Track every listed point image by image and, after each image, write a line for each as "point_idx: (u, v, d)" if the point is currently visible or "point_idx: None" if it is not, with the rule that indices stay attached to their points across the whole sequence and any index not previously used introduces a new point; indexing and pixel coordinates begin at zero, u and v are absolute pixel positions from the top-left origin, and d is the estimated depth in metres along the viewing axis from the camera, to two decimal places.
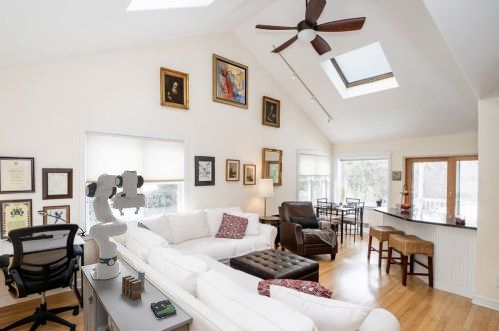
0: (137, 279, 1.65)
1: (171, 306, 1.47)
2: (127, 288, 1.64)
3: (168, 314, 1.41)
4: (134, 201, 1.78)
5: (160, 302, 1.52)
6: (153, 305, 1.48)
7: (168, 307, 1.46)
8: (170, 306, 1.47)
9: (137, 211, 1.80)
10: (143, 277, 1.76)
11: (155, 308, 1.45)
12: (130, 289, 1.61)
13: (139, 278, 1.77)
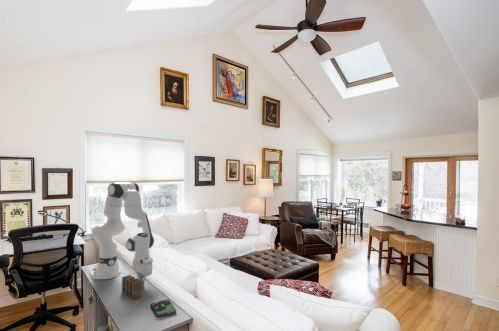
0: (137, 279, 1.65)
1: (171, 306, 1.47)
2: (127, 288, 1.64)
3: (168, 314, 1.41)
4: None
5: (160, 302, 1.52)
6: (153, 305, 1.48)
7: (168, 307, 1.46)
8: (170, 306, 1.47)
9: None
10: None
11: (155, 308, 1.45)
12: (130, 289, 1.61)
13: (139, 278, 1.77)
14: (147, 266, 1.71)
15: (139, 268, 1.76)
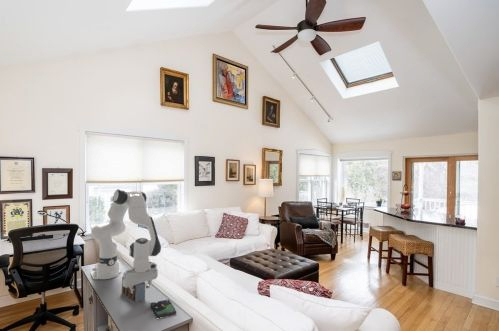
0: None
1: (171, 306, 1.47)
2: (127, 288, 1.64)
3: (168, 314, 1.41)
4: None
5: (160, 302, 1.52)
6: (153, 305, 1.48)
7: (168, 307, 1.46)
8: (170, 306, 1.47)
9: (131, 289, 1.55)
10: None
11: (155, 308, 1.45)
12: None
13: (140, 291, 1.57)
14: None
15: (143, 278, 1.57)
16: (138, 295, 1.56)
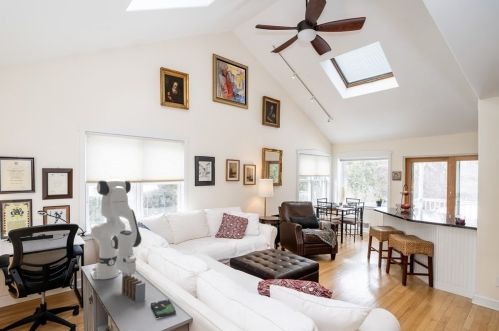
0: (137, 279, 1.65)
1: (171, 306, 1.47)
2: (127, 288, 1.64)
3: (168, 314, 1.41)
4: None
5: (160, 302, 1.52)
6: (153, 305, 1.49)
7: (168, 307, 1.46)
8: (170, 306, 1.47)
9: None
10: None
11: (155, 308, 1.45)
12: (130, 289, 1.61)
13: (140, 291, 1.57)
14: (130, 265, 1.64)
15: (122, 267, 1.70)
16: (138, 295, 1.56)
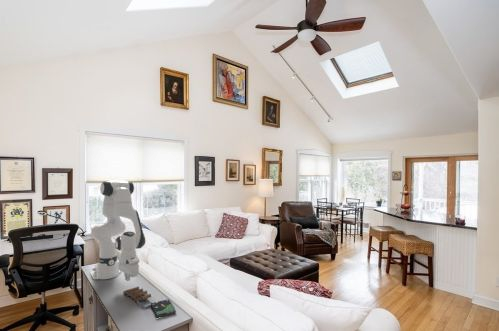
0: (146, 293, 1.58)
1: (171, 306, 1.47)
2: None
3: (168, 314, 1.41)
4: None
5: (160, 302, 1.52)
6: (153, 305, 1.49)
7: (168, 307, 1.46)
8: (170, 306, 1.47)
9: None
10: None
11: (155, 308, 1.45)
12: (135, 297, 1.57)
13: None
14: (133, 267, 1.62)
15: (125, 269, 1.67)
16: None
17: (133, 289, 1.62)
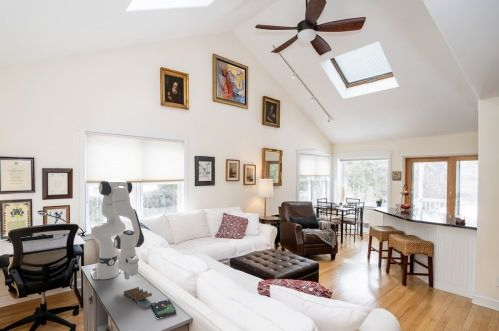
0: (147, 293, 1.57)
1: (171, 306, 1.47)
2: (131, 295, 1.60)
3: (168, 314, 1.41)
4: None
5: (161, 302, 1.52)
6: (154, 305, 1.48)
7: (169, 307, 1.46)
8: (170, 306, 1.47)
9: None
10: None
11: (155, 308, 1.45)
12: (136, 297, 1.57)
13: None
14: (132, 265, 1.63)
15: (124, 267, 1.68)
16: None
17: (133, 289, 1.61)
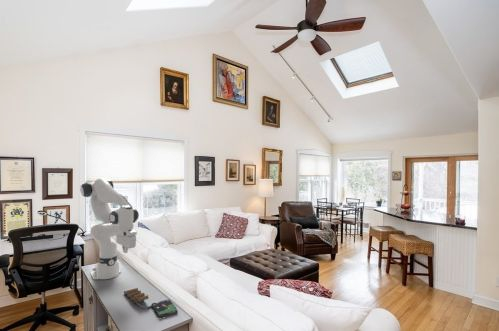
0: None
1: (172, 306, 1.48)
2: (130, 296, 1.59)
3: (170, 314, 1.41)
4: None
5: (161, 302, 1.52)
6: (154, 305, 1.48)
7: (170, 307, 1.47)
8: (171, 306, 1.48)
9: None
10: None
11: (156, 308, 1.45)
12: (133, 299, 1.55)
13: None
14: (130, 238, 1.66)
15: (123, 241, 1.71)
16: None
17: (132, 290, 1.60)
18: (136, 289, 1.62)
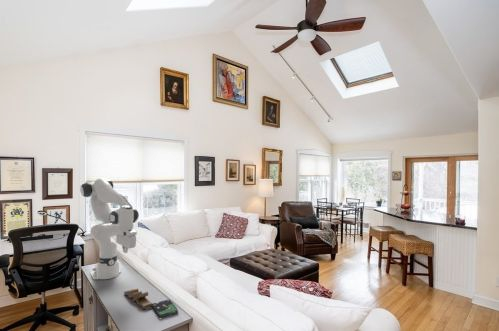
0: (147, 295, 1.54)
1: (173, 306, 1.48)
2: None
3: (170, 314, 1.41)
4: None
5: (161, 302, 1.52)
6: (154, 305, 1.48)
7: (170, 307, 1.47)
8: (172, 306, 1.48)
9: None
10: None
11: (157, 308, 1.45)
12: (136, 299, 1.54)
13: None
14: (130, 238, 1.66)
15: (123, 241, 1.71)
16: None
17: (132, 291, 1.60)
18: (136, 290, 1.62)
